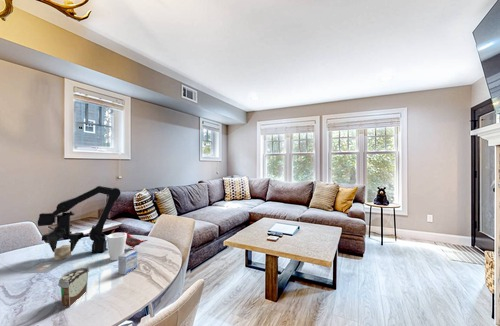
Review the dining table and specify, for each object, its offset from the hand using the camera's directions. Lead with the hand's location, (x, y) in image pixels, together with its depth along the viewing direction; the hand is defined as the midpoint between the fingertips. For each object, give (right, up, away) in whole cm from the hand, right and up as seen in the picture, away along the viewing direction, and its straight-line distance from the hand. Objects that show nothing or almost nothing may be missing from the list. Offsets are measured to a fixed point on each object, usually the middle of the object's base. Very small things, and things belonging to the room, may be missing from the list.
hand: (62, 251), depth 122 cm
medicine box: (+44, -4, -14) cm, 46 cm away
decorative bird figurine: (+33, -4, +14) cm, 36 cm away
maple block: (0, -3, 0) cm, 3 cm away
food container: (+35, -4, -37) cm, 51 cm away
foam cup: (+30, -4, 0) cm, 30 cm away
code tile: (+1, -3, -12) cm, 12 cm away
